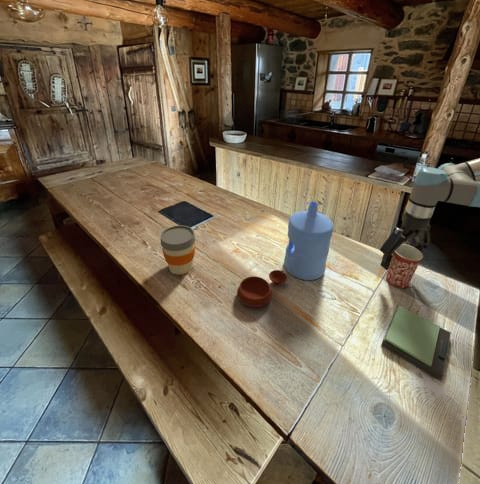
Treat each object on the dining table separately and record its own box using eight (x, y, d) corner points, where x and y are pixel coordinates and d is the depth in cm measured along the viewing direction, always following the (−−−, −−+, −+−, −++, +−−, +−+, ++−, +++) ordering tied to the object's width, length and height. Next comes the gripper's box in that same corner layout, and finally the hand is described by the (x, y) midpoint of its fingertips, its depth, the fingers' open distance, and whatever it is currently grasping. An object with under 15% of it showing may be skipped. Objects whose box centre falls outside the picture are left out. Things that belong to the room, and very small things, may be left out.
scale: (448, 337, 78) (451, 330, 77) (440, 380, 67) (444, 374, 66) (395, 310, 86) (398, 304, 85) (381, 345, 75) (383, 338, 74)
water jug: (329, 263, 106) (342, 201, 94) (316, 287, 94) (329, 220, 82) (293, 249, 114) (301, 190, 102) (277, 270, 102) (283, 206, 90)
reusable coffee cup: (201, 271, 101) (199, 239, 94) (168, 282, 96) (164, 248, 89) (191, 252, 111) (189, 221, 104) (161, 261, 106) (156, 229, 99)
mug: (416, 290, 94) (429, 260, 88) (390, 289, 94) (401, 259, 88) (399, 266, 105) (408, 238, 99) (375, 265, 105) (384, 237, 100)
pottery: (230, 293, 91) (230, 284, 89) (272, 269, 102) (273, 260, 100) (251, 317, 83) (252, 307, 81) (295, 288, 94) (296, 279, 92)
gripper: (435, 203, 94) (416, 251, 104) (378, 213, 87) (363, 263, 97) (456, 214, 88) (434, 264, 97) (397, 225, 81) (379, 278, 90)
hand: (399, 264), depth 97 cm, fingers open, 13 cm apart
